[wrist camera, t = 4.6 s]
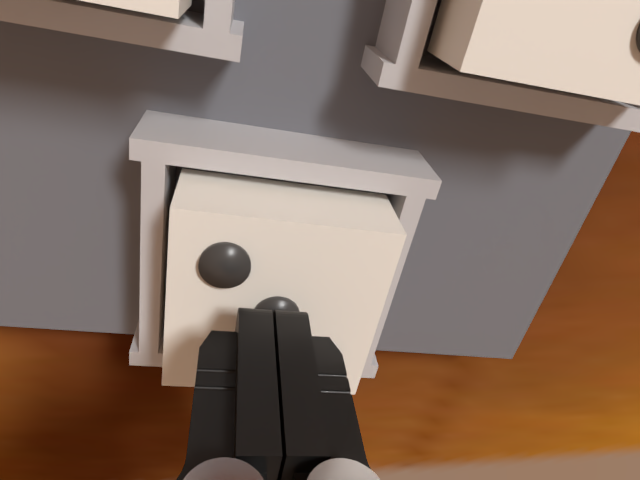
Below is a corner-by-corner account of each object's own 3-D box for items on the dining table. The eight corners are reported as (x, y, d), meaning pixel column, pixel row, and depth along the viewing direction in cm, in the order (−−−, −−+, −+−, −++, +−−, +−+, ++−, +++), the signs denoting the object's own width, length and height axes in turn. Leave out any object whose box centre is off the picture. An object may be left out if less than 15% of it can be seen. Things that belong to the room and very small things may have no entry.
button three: (385, 194, 12) (409, 238, 11) (343, 342, 15) (355, 398, 13) (181, 168, 11) (168, 211, 10) (172, 331, 14) (160, 390, 12)
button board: (751, -234, 12) (959, -307, 8) (489, 323, 20) (538, 402, 16) (-211, -586, 8) (-568, -988, 4) (-35, 281, 16) (-112, 372, 13)
